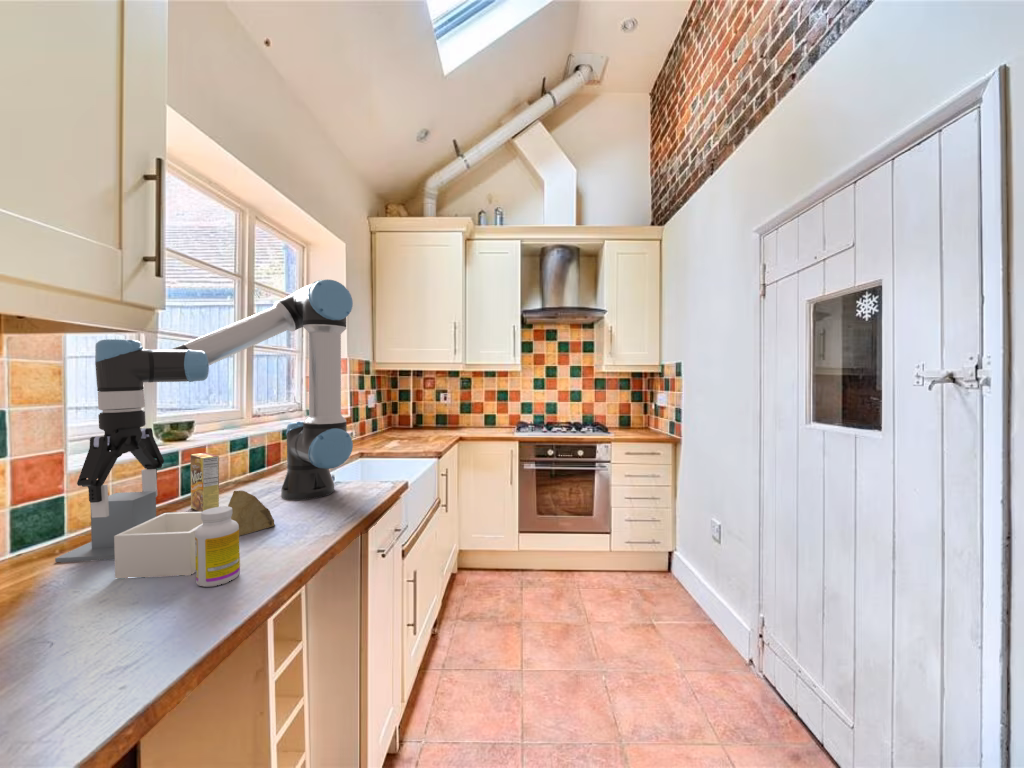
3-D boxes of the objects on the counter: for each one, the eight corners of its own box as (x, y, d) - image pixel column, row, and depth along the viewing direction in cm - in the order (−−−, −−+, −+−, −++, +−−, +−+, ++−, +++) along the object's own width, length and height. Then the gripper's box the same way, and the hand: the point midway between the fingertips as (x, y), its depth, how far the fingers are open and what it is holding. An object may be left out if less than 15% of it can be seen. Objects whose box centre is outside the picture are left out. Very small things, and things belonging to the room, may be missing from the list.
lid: (114, 535, 100) (113, 488, 99) (184, 532, 102) (183, 486, 101) (55, 564, 85) (53, 508, 84) (138, 559, 87) (136, 505, 86)
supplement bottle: (248, 573, 80) (247, 506, 79) (214, 590, 73) (213, 517, 73) (221, 569, 82) (220, 503, 81) (186, 585, 75) (185, 514, 75)
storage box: (165, 549, 91) (164, 512, 91) (229, 547, 92) (229, 510, 92) (115, 578, 78) (114, 536, 78) (190, 575, 79) (189, 532, 79)
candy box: (190, 508, 119) (188, 454, 119) (207, 504, 122) (206, 452, 122) (202, 514, 114) (201, 457, 114) (220, 510, 117) (219, 455, 117)
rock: (282, 511, 109) (240, 508, 107) (278, 490, 104) (234, 487, 102) (266, 550, 100) (220, 547, 99) (261, 529, 95) (212, 526, 93)
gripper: (146, 405, 104) (150, 490, 105) (46, 417, 80) (53, 528, 80) (179, 405, 105) (183, 489, 106) (90, 416, 80) (96, 525, 81)
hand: (127, 506), depth 93 cm, fingers open, 13 cm apart
